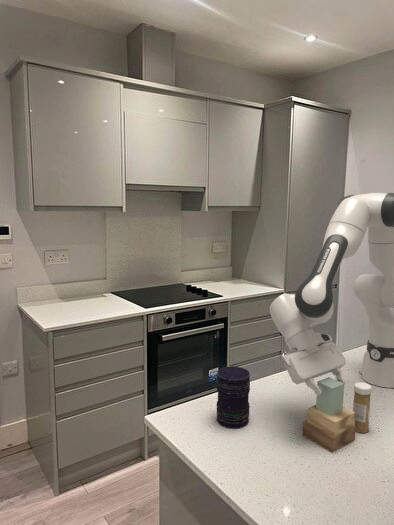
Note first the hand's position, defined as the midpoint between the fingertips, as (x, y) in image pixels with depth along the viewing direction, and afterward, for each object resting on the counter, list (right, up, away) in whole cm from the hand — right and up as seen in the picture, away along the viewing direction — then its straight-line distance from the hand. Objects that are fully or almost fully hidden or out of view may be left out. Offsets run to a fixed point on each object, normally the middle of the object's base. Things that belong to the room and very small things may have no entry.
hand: (331, 389), depth 111 cm
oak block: (0, -10, +2) cm, 10 cm away
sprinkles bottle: (+10, -14, +6) cm, 18 cm away
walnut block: (0, -14, +2) cm, 15 cm away
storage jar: (-26, -13, +11) cm, 31 cm away
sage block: (0, -6, +1) cm, 6 cm away
